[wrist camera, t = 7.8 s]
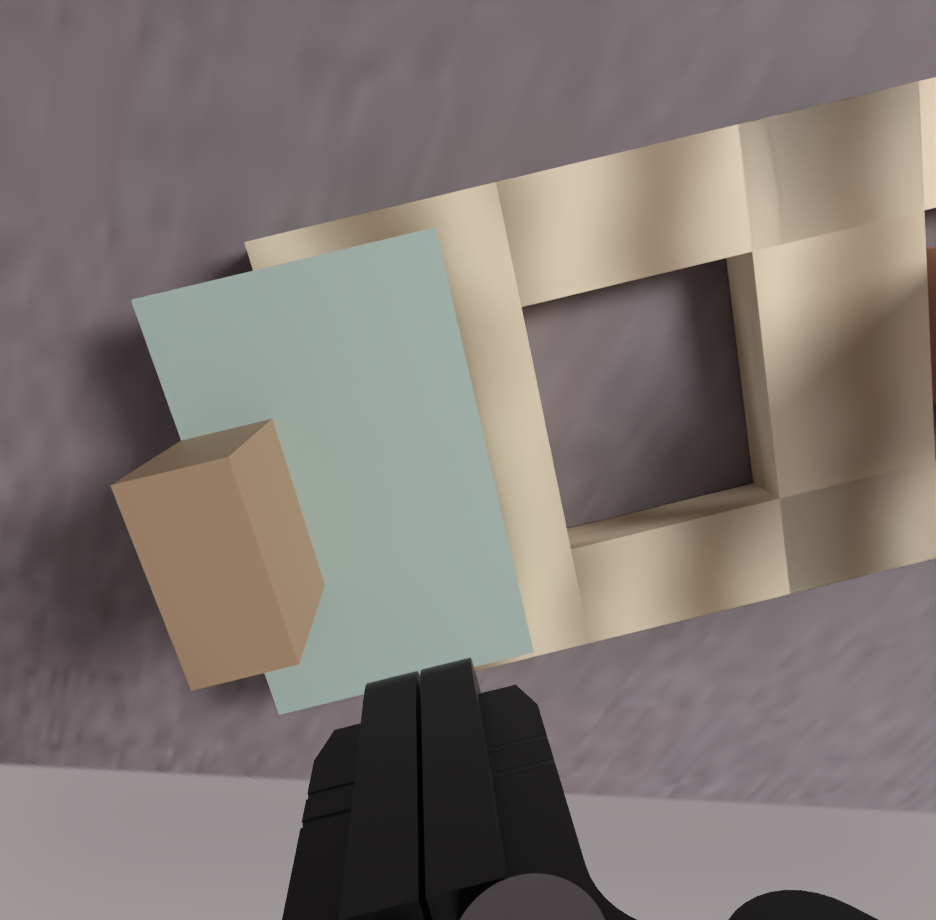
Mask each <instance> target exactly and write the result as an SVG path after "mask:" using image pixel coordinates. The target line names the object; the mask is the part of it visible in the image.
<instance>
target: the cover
mask: <svg viewBox="0 0 936 920" xmlns="http://www.w3.org/2000/svg"><path fill="white" fill-rule="evenodd" d="M131 302H132V305H133V307H134V310H135V313H136V316H137V319H138V321H139V324H140V327H141V330H142V332H143V335H144V338H145V341H146V344H147V346H148V349H149V352H150V355H151V358H152V360H153V363H154V366H155V369H156V372H157V374H158V377H159V380H160V383H161V386H162V388H163V391H164V394H165V397H166V400H167V402H168V405H169V408H170V411H171V414H172V416H173V419H174V422H175V425H176V428H177V430H178V433H179V436H180V439H181V441H180V442H178V443H176V444H175V445H173V446H172V447H170V448H169V449H167V450H165V451H164V452H162V453H161V454H159V455H157V456H156V457H154V458H153V459H151V460H150V461H148V462H146V463H145V464H143V465H142V466H140V467H139V468H137V469H135V470H134V471H132V472H131V473H129V474H127V475H126V476H124V477H123V478H121V479H120V480H118V481H116V482H115V483H113V484H112V485H110V486H111V489H112V491H113V494H114V496H115V499H116V501H117V504H118V506H119V509H120V511H121V514H122V516H123V519H124V522H125V524H126V527H127V529H128V532H129V534H130V537H131V539H132V542H133V544H134V547H135V549H136V552H137V554H138V557H139V560H140V562H141V565H142V567H143V570H144V572H145V575H146V577H147V580H148V582H149V585H150V587H151V590H152V593H153V595H154V598H155V600H156V603H157V605H158V608H159V610H160V613H161V615H162V618H163V620H164V623H165V625H166V628H167V631H168V633H169V636H170V638H171V641H172V643H173V646H174V648H175V651H176V653H177V656H178V658H179V661H180V664H181V666H182V669H183V671H184V674H185V676H186V679H187V681H188V684H189V686H190V689H191V691H193V690H197V689H201V688H205V687H209V686H213V685H217V684H222V683H226V682H230V681H234V680H238V679H242V678H246V677H250V676H254V675H258V674H262V673H264V674H265V677H266V679H267V682H268V685H269V688H270V691H271V693H272V696H273V699H274V702H275V705H276V707H277V710H278V713H279V715H281V714H285V713H289V712H293V711H297V710H301V709H305V708H309V707H313V706H317V705H321V704H326V703H330V702H334V701H338V700H342V699H346V698H350V697H354V696H358V695H362V694H364V691H365V686H366V684H367V683H370V682H374V681H378V680H382V679H386V678H390V677H394V676H398V675H402V674H406V673H411V672H415V671H418V672H419V674H420V672H421V670H422V669H426V668H430V667H434V666H438V665H442V664H446V663H450V662H454V661H458V660H462V659H466V658H470V657H471V659H472V662H473V665H474V667H477V666H481V665H485V664H489V663H493V662H497V661H501V660H505V659H509V658H513V657H517V656H521V655H525V654H530V653H534V651H533V647H532V642H531V638H530V634H529V629H528V625H527V621H526V616H525V612H524V608H523V603H522V599H521V595H520V590H519V586H518V582H517V577H516V573H515V569H514V564H513V560H512V556H511V551H510V547H509V543H508V538H507V534H506V530H505V525H504V521H503V517H502V512H501V508H500V504H499V499H498V495H497V491H496V486H495V482H494V478H493V473H492V469H491V465H490V460H489V456H488V452H487V447H486V443H485V439H484V434H483V430H482V426H481V421H480V417H479V413H478V408H477V404H476V400H475V395H474V391H473V387H472V382H471V378H470V374H469V369H468V365H467V361H466V356H465V352H464V348H463V343H462V339H461V335H460V330H459V326H458V322H457V317H456V313H455V309H454V304H453V300H452V296H451V291H450V287H449V283H448V278H447V274H446V270H445V265H444V261H443V257H442V252H441V248H440V244H439V239H438V235H437V231H436V227H434V228H430V229H426V230H421V231H417V232H413V233H409V234H405V235H401V236H396V237H392V238H388V239H384V240H380V241H375V242H371V243H367V244H363V245H359V246H354V247H350V248H346V249H342V250H338V251H334V252H329V253H325V254H321V255H317V256H313V257H308V258H304V259H300V260H296V261H292V262H288V263H283V264H279V265H275V266H271V267H267V268H262V269H258V270H254V271H250V272H246V273H242V274H237V275H233V276H229V277H225V278H221V279H216V280H212V281H208V282H204V283H200V284H195V285H191V286H187V287H183V288H179V289H175V290H170V291H166V292H162V293H158V294H154V295H149V296H145V297H141V298H137V299H133V300H131Z"/></svg>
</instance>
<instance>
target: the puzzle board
mask: <svg viewBox="0 0 936 920" xmlns="http://www.w3.org/2000/svg"><path fill="white" fill-rule="evenodd" d="M932 208H936V77H935V78H930V79H926V80H922V81H918V82H914V83H909V84H905V85H901V86H897V87H893V88H888V89H884V90H880V91H876V92H872V93H868V94H863V95H859V96H855V97H851V98H847V99H842V100H838V101H834V102H830V103H826V104H821V105H817V106H813V107H809V108H805V109H800V110H796V111H792V112H788V113H784V114H779V115H775V116H771V117H767V118H763V119H759V120H754V121H750V122H746V123H742V124H738V125H733V126H729V127H725V128H721V129H717V130H712V131H708V132H704V133H700V134H696V135H691V136H687V137H683V138H679V139H675V140H670V141H666V142H662V143H658V144H654V145H650V146H645V147H641V148H637V149H633V150H629V151H624V152H620V153H616V154H612V155H608V156H603V157H599V158H595V159H591V160H587V161H582V162H578V163H574V164H570V165H566V166H561V167H557V168H553V169H549V170H545V171H541V172H536V173H532V174H528V175H524V176H520V177H515V178H511V179H507V180H503V181H499V182H494V183H490V184H486V185H482V186H478V187H473V188H469V189H465V190H461V191H457V192H452V193H448V194H444V195H440V196H436V197H432V198H427V199H423V200H419V201H415V202H411V203H406V204H402V205H398V206H394V207H390V208H385V209H381V210H377V211H373V212H369V213H364V214H360V215H356V216H352V217H348V218H343V219H339V220H335V221H331V222H327V223H323V224H318V225H314V226H310V227H306V228H302V229H297V230H293V231H289V232H285V233H281V234H276V235H272V236H268V237H264V238H260V239H255V240H251V241H247V242H244V243H245V246H246V249H247V252H248V256H249V259H250V262H251V265H252V269H253V271H254V270H258V269H262V268H267V267H271V266H275V265H279V264H283V263H288V262H292V261H296V260H300V259H304V258H308V257H313V256H317V255H321V254H325V253H329V252H334V251H338V250H342V249H346V248H350V247H354V246H359V245H363V244H367V243H371V242H375V241H380V240H384V239H388V238H392V237H396V236H401V235H405V234H409V233H413V232H417V231H421V230H426V229H430V228H434V227H436V231H437V235H438V239H439V244H440V248H441V252H442V257H443V261H444V265H445V270H446V274H447V278H448V283H449V287H450V291H451V296H452V300H453V304H454V309H455V313H456V317H457V322H458V326H459V330H460V335H461V339H462V343H463V348H464V352H465V356H466V361H467V365H468V369H469V374H470V378H471V382H472V387H473V391H474V395H475V400H476V404H477V408H478V413H479V417H480V421H481V426H482V430H483V434H484V439H485V443H486V447H487V452H488V456H489V460H490V465H491V469H492V473H493V478H494V482H495V486H496V491H497V495H498V499H499V504H500V508H501V512H502V517H503V521H504V525H505V530H506V534H507V538H508V543H509V547H510V551H511V556H512V560H513V564H514V569H515V573H516V577H517V582H518V586H519V590H520V595H521V599H522V603H523V608H524V612H525V616H526V621H527V625H528V629H529V634H530V638H531V642H532V647H533V651H534V653H530V654H525V655H521V656H517V657H513V658H509V659H505V660H501V661H497V662H493V663H489V664H485V665H481V666H477V667H474V669H475V671H478V670H482V669H486V668H490V667H494V666H498V665H502V664H506V663H510V662H514V661H519V660H523V659H527V658H531V657H535V656H539V655H543V654H547V653H551V652H555V651H559V650H563V649H567V648H572V647H576V646H580V645H584V644H588V643H592V642H596V641H600V640H604V639H608V638H612V637H616V636H621V635H625V634H629V633H633V632H637V631H641V630H645V629H649V628H653V627H657V626H661V625H665V624H669V623H674V622H678V621H682V620H686V619H690V618H694V617H698V616H702V615H706V614H710V613H714V612H718V611H723V610H727V609H731V608H735V607H739V606H743V605H747V604H751V603H755V602H759V601H763V600H767V599H771V598H776V597H780V596H784V595H788V594H792V593H796V592H800V591H804V590H808V589H812V588H816V587H820V586H824V585H829V584H833V583H837V582H841V581H845V580H849V579H853V578H857V577H861V576H865V575H869V574H873V573H878V572H882V571H886V570H890V569H894V568H898V567H902V566H906V565H910V564H914V563H918V562H922V561H926V560H931V559H935V558H936V439H934V420H933V396H932V373H931V350H930V327H929V304H928V281H927V257H926V234H925V211H924V210H928V209H932ZM724 258H726V261H727V269H728V278H729V286H730V294H731V302H732V311H733V319H734V327H735V336H736V344H737V352H738V360H739V369H740V377H741V385H742V393H743V402H744V410H745V418H746V427H747V435H748V443H749V451H750V460H751V468H752V476H753V484H749V485H745V486H740V487H736V488H732V489H728V490H724V491H720V492H716V493H712V494H708V495H703V496H699V497H695V498H691V499H687V500H683V501H679V502H675V503H671V504H667V505H662V506H658V507H654V508H650V509H646V510H642V511H638V512H634V513H630V514H625V515H621V516H617V517H613V518H609V519H605V520H601V521H597V522H593V523H588V524H584V525H580V526H576V527H572V528H568V529H567V528H566V523H565V518H564V513H563V508H562V503H561V499H560V494H559V489H558V484H557V479H556V474H555V469H554V464H553V459H552V454H551V450H550V445H549V440H548V435H547V430H546V425H545V420H544V415H543V410H542V405H541V401H540V396H539V391H538V386H537V381H536V376H535V371H534V366H533V361H532V356H531V352H530V347H529V342H528V337H527V332H526V327H525V322H524V317H523V312H522V307H524V306H528V305H533V304H537V303H541V302H545V301H549V300H553V299H557V298H562V297H566V296H570V295H574V294H578V293H582V292H587V291H591V290H595V289H599V288H603V287H607V286H612V285H616V284H620V283H624V282H628V281H632V280H637V279H641V278H645V277H649V276H653V275H657V274H662V273H666V272H670V271H674V270H678V269H682V268H686V267H691V266H695V265H699V264H703V263H707V262H711V261H716V260H720V259H724Z"/></svg>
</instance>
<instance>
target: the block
mask: <svg viewBox="0 0 936 920" xmlns="http://www.w3.org/2000/svg"><path fill="white" fill-rule="evenodd" d="M926 257H927V281H928V304H929V327H930V350H931V373H932V396H933V404H936V246H935V247H931V248H927V249H926Z"/></svg>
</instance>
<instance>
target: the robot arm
mask: <svg viewBox="0 0 936 920" xmlns="http://www.w3.org/2000/svg"><path fill="white" fill-rule="evenodd" d="M302 823H303V828H301V829H300V834H299V839H298V844H297V849H296V854H295V859H294V864H293V868H292V873H291V879H290V883H289V888H288V893H287V899H286V903H285V908H284V913H283V918H282V920H636V919H634V918H632V917H630V916H628V915H627V914H625V913H624V912H622V911H620V910H619V909H617V908H616V907H615V906H614V905H612V904H611V903H610V902H609V901H608V900H607V899H606V898H605V897H604V896H603V895H602V893H601V892H600V891H599V890H598V889H597V887H596V886H595V884H594V883H593V881H592V879H591V878H590V875H589V873H588V870H587V868H586V865H585V862H584V859H583V855H582V852H581V849H580V845H579V842H578V839H577V835H576V832H575V829H574V825H573V822H572V818H571V815H570V812H569V808H568V806H567V802H566V799H565V795H564V792H563V788H562V785H561V782H560V778H559V775H558V771H557V768H556V765H555V762H554V758H553V755H552V751H551V748H550V745H549V741H548V739H547V735H546V731H545V728H544V725H543V721H542V718H541V715H540V711H539V708H538V705H537V704H536V703H535V702H534V701H533V700H532V699H531V698H530V697H529V696H527V695H526V694H525V693H524V692H523V691H522V690H521V689H520V688H519V687H518V686H517V685H512V686H508V687H504V688H500V689H496V690H492V691H488V692H484V693H481V692H480V689H479V685H478V681H477V677H476V673H475V669H474V665H473V662H472V659H471V657H470V658H466V659H462V660H458V661H454V662H450V663H446V664H442V665H438V666H434V667H430V668H426V669H422V670H421V672H420V674H419V672H418V671H415V672H411V673H406V674H402V675H398V676H394V677H390V678H386V679H382V680H378V681H374V682H370V683H367V684H366V686H365V691H364V700H363V709H362V718H361V724H357V725H353V726H349V727H345V728H341V729H337V730H334V732H333V733H332V735H331V736H330V738H329V739H328V741H327V742H326V744H325V745H324V747H323V748H322V750H321V751H320V753H319V754H318V756H317V757H316V759H315V760H314V764H313V769H312V774H311V779H310V784H309V789H308V799H307V800H306V804H305V809H304V814H303V819H302ZM729 920H878V919H876V918H874V917H872V916H870V915H868V914H866V913H864V912H862V911H860V910H858V909H856V908H854V907H852V906H850V905H848V904H846V903H844V902H841V901H839V900H837V899H835V898H832V897H828V896H825V895H821V894H818V893H813V892H807V891H801V890H782V891H775V892H769V893H766V894H763V895H760V896H757V897H755V898H753V899H751V900H750V901H748V902H746V903H744V904H743V905H742V906H741V907H740V908H738V909H737V910H736V911H735V912H734V913H733V915H732V916H731V917H730V918H729Z"/></svg>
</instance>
